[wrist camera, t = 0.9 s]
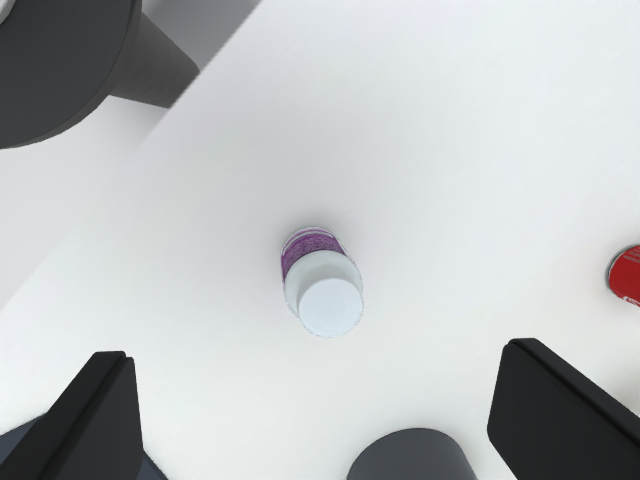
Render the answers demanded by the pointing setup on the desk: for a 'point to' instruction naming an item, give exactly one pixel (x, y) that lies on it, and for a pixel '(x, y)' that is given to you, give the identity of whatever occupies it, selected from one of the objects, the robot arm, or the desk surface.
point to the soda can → (626, 276)
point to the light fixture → (413, 458)
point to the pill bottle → (321, 282)
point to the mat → (148, 475)
